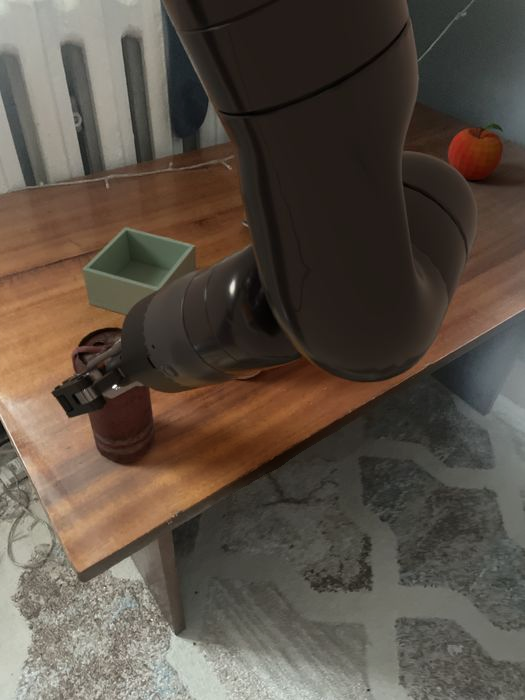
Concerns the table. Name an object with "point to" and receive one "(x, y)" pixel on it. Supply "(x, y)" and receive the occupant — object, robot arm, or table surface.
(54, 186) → the table surface
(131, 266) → the green tray box
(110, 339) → the can
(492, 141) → the fruit
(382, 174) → the robot arm
